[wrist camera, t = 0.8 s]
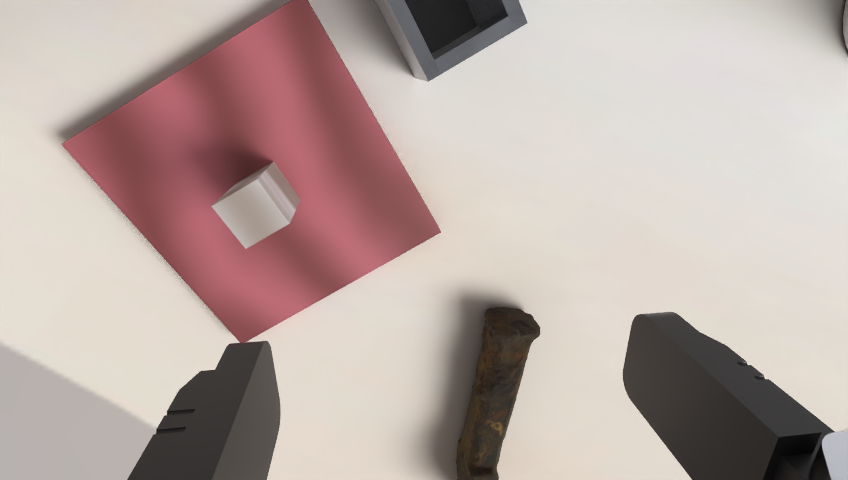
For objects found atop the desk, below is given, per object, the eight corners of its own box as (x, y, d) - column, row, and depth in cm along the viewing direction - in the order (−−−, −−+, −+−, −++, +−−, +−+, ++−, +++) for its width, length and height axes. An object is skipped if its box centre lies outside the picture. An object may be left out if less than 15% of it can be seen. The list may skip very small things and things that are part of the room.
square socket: (452, -64, 25) (478, -101, 19) (493, 31, 27) (527, 23, 21) (368, -12, 25) (370, -34, 19) (414, 77, 27) (428, 81, 21)
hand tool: (480, 300, 34) (497, 334, 29) (529, 306, 34) (552, 340, 30) (430, 482, 40) (438, 532, 36) (473, 484, 41) (485, 533, 37)
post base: (305, -4, 25) (290, -22, 20) (438, 227, 31) (453, 259, 26) (72, 141, 26) (1, 160, 21) (245, 336, 32) (222, 387, 27)
